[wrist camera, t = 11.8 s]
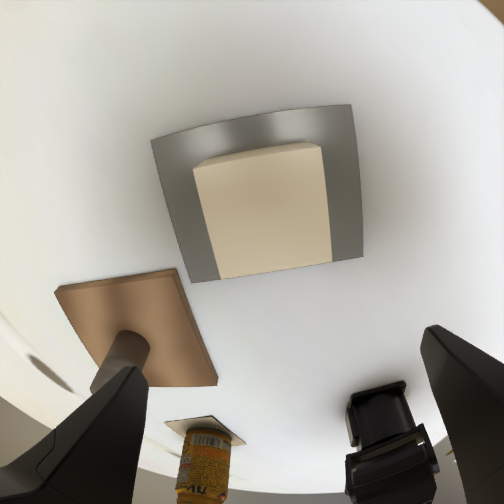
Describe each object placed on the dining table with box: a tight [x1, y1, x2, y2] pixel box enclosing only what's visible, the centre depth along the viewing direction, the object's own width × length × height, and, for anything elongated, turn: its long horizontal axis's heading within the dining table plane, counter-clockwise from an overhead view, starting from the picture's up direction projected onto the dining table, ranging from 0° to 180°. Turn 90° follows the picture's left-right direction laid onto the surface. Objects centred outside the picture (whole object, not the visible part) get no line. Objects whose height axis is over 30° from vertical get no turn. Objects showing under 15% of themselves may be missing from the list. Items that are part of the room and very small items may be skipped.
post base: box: [54, 269, 218, 394], centre depth 20 cm, size 12×12×7 cm
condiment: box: [165, 417, 245, 504], centre depth 25 cm, size 7×8×12 cm
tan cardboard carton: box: [193, 141, 332, 279], centre depth 15 cm, size 6×6×4 cm
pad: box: [150, 104, 363, 283], centre depth 17 cm, size 12×10×1 cm
